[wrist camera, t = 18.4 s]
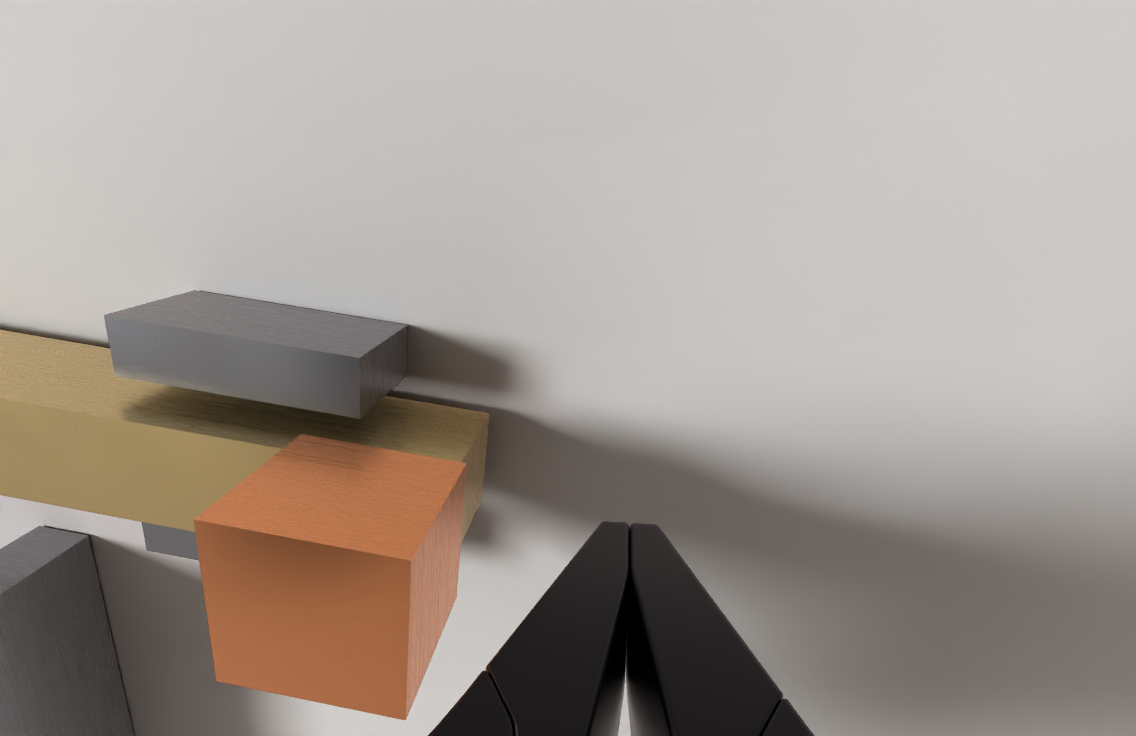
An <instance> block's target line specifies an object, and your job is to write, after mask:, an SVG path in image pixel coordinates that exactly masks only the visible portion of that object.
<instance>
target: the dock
mask: <svg viewBox="0 0 1136 736" xmlns="http://www.w3.org/2000/svg"><path fill="white" fill-rule="evenodd" d="M104 318H105V324H106V329H107V334H108V340H109V345H110V351H111V356H112V362H113V367H114V373H115V376H117V377H123V378H128V379H134V380H140V381H146V382H151V383H157V384H163V385H169V386H174V387H180V388H186V389H192V390H197V391H203V392H209V393H215V394H220V395H226V396H232V397H238V398H243V399H249V400H255V401H261V402H266V403H272V404H278V405H284V406H289V407H295V408H301V409H307V410H312V411H318V412H324V413H330V414H335V415H341V416H347V417H353V418H358V419H360V418H361V417H363V416H364V415H365V414H366V413H367V412H368V411H369V410H370V409H371V408H372V407H373V406H375V405H376V404H377V403H378V402H379V401H380V400H381V399H382V398H383V397H384V396H386V395H387V394H388V393H389V392H390V391H391V390H392V389H393V388H394V387H395V386H396V385H398V384H399V383H400V382H401V381H402V380H403V379H404V378H405V377H406V362H407V325H405V324H399V323H392V322H386V321H380V320H374V319H368V318H362V317H356V316H349V315H343V314H337V313H331V312H325V311H319V310H313V309H306V308H300V307H294V306H288V305H282V304H276V303H269V302H263V301H257V300H251V299H245V298H239V297H233V296H226V295H220V294H214V293H208V292H202V291H196V290H194V291H190V292H187V293H183V294H179V295H176V296H172V297H168V298H165V299H161V300H157V301H154V302H150V303H147V304H143V305H139V306H136V307H132V308H128V309H125V310H121V311H117V312H114V313H110V314H106V315H104ZM142 526H143V532H144V537H145V543H146V548H147V550H148V551H153V552H159V553H164V554H169V555H174V556H179V557H184V558H190V559H195V560H199V555H198V548H197V540H196V533H195V532H193V531H188V530H182V529H177V528H172V527H167V526H161V525H156V524H151V523H146V522H142ZM0 736H134V733H133V729H132V724H131V720H130V716H129V711H128V707H127V702H126V698H125V694H124V689H123V685H122V681H121V676H120V672H119V667H118V663H117V659H116V654H115V650H114V645H113V641H112V637H111V632H110V628H109V623H108V619H107V615H106V610H105V606H104V601H103V597H102V593H101V588H100V584H99V580H98V575H97V571H96V566H95V562H94V558H93V553H92V549H91V544H90V540H89V536H88V535H84V534H78V533H73V532H68V531H63V530H58V529H53V528H47V527H42V526H38V527H37V528H35V529H33V530H32V531H30V532H28V533H27V534H25V535H23V536H22V537H20V538H18V539H17V540H15V541H13V542H12V543H10V544H8V545H7V546H5V547H3V548H2V549H0Z"/></svg>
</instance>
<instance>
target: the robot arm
mask: <svg viewBox="0 0 1136 736" xmlns="http://www.w3.org/2000/svg"><path fill="white" fill-rule="evenodd" d="M625 668H626V683H627V697H628V708H629V718H630V728H631V736H814V734H813V733H812V732H811V731H810V729H809V728H808V727H807V725H806V724H805V723H804V721H803V720H802V719H801V717H800V716H799V715H798V713H797V712H796V710H795V709H794V708H793V706H792V705H791V704H790V702H789V701H788V700H787V699H783V694H782V692H781V691H780V689H779V688H778V687H777V685H776V684H775V683H774V681H773V680H772V678H771V677H770V676H769V674H768V673H767V672H766V670H765V669H764V668H763V666H762V665H761V664H760V662H759V661H758V660H757V658H756V657H755V656H754V654H753V653H752V652H751V650H750V649H749V648H748V646H747V645H746V643H745V642H744V641H743V639H742V638H741V637H740V635H739V634H738V633H737V631H736V630H735V629H734V627H733V626H732V625H731V623H730V622H729V621H728V619H727V618H726V617H725V615H724V614H723V613H722V611H721V610H720V608H719V607H718V606H717V604H716V603H715V602H714V600H713V599H712V598H711V596H710V595H709V594H708V592H707V591H706V590H705V588H704V587H703V586H702V584H701V583H700V582H699V580H698V579H697V578H696V576H695V575H694V573H693V572H692V571H691V569H690V568H689V567H688V565H687V564H686V563H685V561H684V560H683V559H682V557H681V556H680V555H679V553H678V552H677V551H676V549H675V548H674V547H673V545H672V544H671V542H670V541H669V540H668V538H667V537H666V536H665V534H664V533H663V532H662V530H661V529H660V528H659V527H658V526H657V525H655V524H641V523H633V524H631V526H630V531H629V525H628V524H627V523H624V522H609V521H604V522H602V523H601V524H600V525H599V526H598V527H597V529H596V530H595V531H594V532H593V534H592V535H591V536H590V537H589V539H588V540H587V541H586V542H585V544H584V545H583V546H582V547H581V549H580V550H579V551H578V552H577V554H576V555H575V556H574V557H573V559H572V560H571V561H570V562H569V564H568V565H567V566H566V567H565V569H564V570H563V571H562V572H561V574H560V575H559V576H558V577H557V579H556V580H555V581H554V582H553V584H552V585H551V586H550V588H549V589H548V590H547V591H546V593H545V594H544V595H543V596H542V598H541V599H540V600H539V601H538V603H537V604H536V605H535V606H534V608H533V609H532V610H531V611H530V613H529V614H528V615H527V616H526V618H525V619H524V620H523V621H522V623H521V624H520V625H519V626H518V628H517V629H516V630H515V631H514V633H513V634H512V635H511V636H510V638H509V639H508V640H507V641H506V643H505V644H504V645H503V646H502V648H501V649H500V650H499V651H498V653H497V654H496V655H495V656H494V658H493V659H492V660H491V661H490V663H489V664H488V665H487V667H486V671H482V672H481V673H480V675H479V676H478V677H477V678H476V680H475V681H474V682H473V683H472V685H471V686H470V687H469V689H468V690H467V691H466V692H465V694H464V695H463V696H462V697H461V698H460V699H459V701H458V702H457V703H456V704H455V705H454V707H453V708H452V709H451V710H450V711H449V712H448V714H447V715H446V716H445V717H444V718H443V719H442V721H441V722H440V723H439V724H438V725H437V726H436V728H435V729H434V730H433V731H432V732H431V733H430V734H429V735H428V736H618V730H619V723H620V716H621V709H622V701H623V693H624V684H625Z"/></svg>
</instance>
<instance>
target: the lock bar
mask: <svg viewBox="0 0 1136 736" xmlns="http://www.w3.org/2000/svg"><path fill="white" fill-rule="evenodd" d="M489 417H490V413H485V412H479V411H473V410H467V409H461V408H455V407H450V406H444V405H438V404H432V403H426V402H420V401H414V400H409V399H403V398H397V397H391V396H384V397H383V398H382V399H381V400H380V401H379V402H378V403H377V404H376V405H375V406H373V407H372V408H371V409H370V410H369V411H368V412H367V413H366V414H365V415H364V416H363V417H361V418H360V419H358V418H353V417H347V416H341V415H335V414H330V413H324V412H318V411H312V410H307V409H301V408H295V407H289V406H284V405H278V404H272V403H266V402H261V401H255V400H249V399H243V398H238V397H232V396H226V395H220V394H215V393H209V392H203V391H197V390H192V389H186V388H180V387H174V386H169V385H163V384H157V383H151V382H146V381H140V380H134V379H128V378H123V377H117V376H115V373H114V367H113V362H112V356H111V351H110V348H104V347H98V346H92V345H87V344H81V343H75V342H69V341H63V340H57V339H52V338H46V337H40V336H34V335H28V334H22V333H16V332H11V331H5V330H0V495H3V496H9V497H14V498H19V499H24V500H30V501H35V502H40V503H46V504H51V505H56V506H61V507H67V508H72V509H77V510H82V511H88V512H93V513H98V514H103V515H109V516H114V517H119V518H124V519H130V520H135V521H140V522H146V523H151V524H156V525H161V526H167V527H172V528H177V529H182V530H188V531H193V532H195V533H196V540H197V548H198V555H199V562H200V569H201V576H202V583H203V590H204V597H205V604H206V612H207V619H208V626H209V633H210V640H211V647H212V654H213V661H214V668H215V676H216V681H218V682H222V683H227V684H232V685H237V686H242V687H247V688H252V689H256V690H261V691H266V692H271V693H276V694H281V695H285V696H290V697H295V698H300V699H305V700H310V701H315V702H319V703H324V704H329V705H334V706H339V707H344V708H348V709H353V710H358V711H363V712H368V713H373V714H378V715H382V716H387V717H392V718H397V719H402V720H406V719H407V716H408V714H409V711H410V709H411V707H412V704H413V702H414V699H415V697H416V694H417V692H418V690H419V687H420V685H421V682H422V680H423V677H424V675H425V672H426V670H427V668H428V665H429V663H430V660H431V658H432V655H433V653H434V651H435V648H436V646H437V643H438V641H439V638H440V636H441V634H442V631H443V629H444V626H445V624H446V621H447V619H448V617H449V614H450V612H451V609H452V607H453V604H454V602H455V600H456V597H457V584H458V571H459V557H460V545H461V543H462V541H463V539H464V537H465V534H466V532H467V530H468V528H469V526H470V524H471V521H472V519H473V517H474V515H475V513H476V510H477V508H478V506H479V504H480V502H481V499H482V495H483V484H484V473H485V462H486V451H487V439H488V428H489Z"/></svg>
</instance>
